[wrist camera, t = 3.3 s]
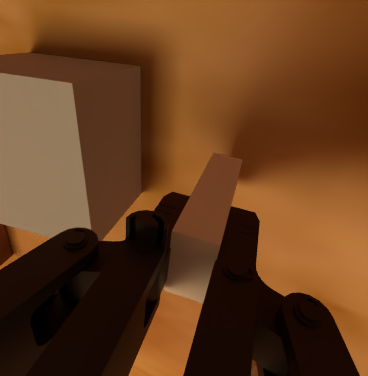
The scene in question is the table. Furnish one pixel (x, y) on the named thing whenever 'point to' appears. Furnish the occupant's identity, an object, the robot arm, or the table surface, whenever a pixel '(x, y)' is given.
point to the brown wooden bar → (4, 245)
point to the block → (68, 142)
